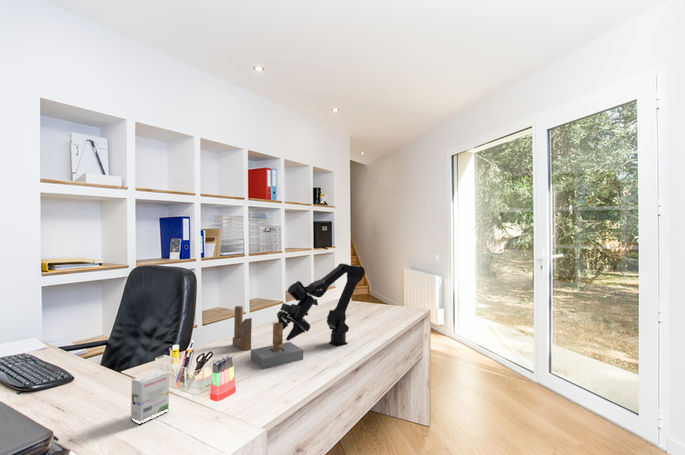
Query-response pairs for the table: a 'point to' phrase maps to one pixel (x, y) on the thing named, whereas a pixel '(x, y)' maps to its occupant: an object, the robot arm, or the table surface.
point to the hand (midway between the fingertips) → (280, 337)
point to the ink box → (149, 395)
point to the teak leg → (277, 336)
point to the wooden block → (242, 330)
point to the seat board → (276, 355)
